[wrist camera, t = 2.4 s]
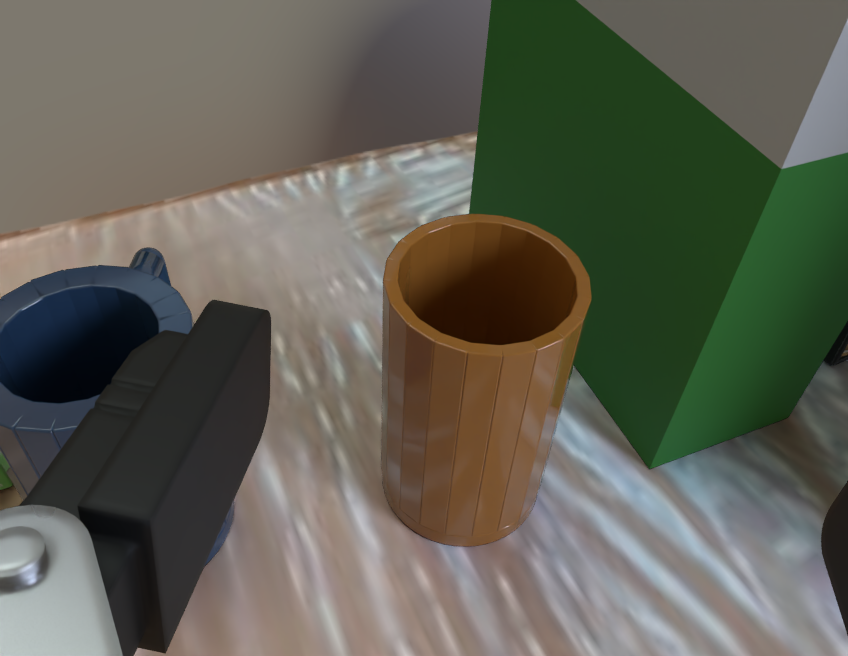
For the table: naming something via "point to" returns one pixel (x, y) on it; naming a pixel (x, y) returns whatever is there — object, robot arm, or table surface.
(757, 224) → the hardback book
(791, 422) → the table surface
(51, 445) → the mug
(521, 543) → the table surface
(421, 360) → the tumbler
